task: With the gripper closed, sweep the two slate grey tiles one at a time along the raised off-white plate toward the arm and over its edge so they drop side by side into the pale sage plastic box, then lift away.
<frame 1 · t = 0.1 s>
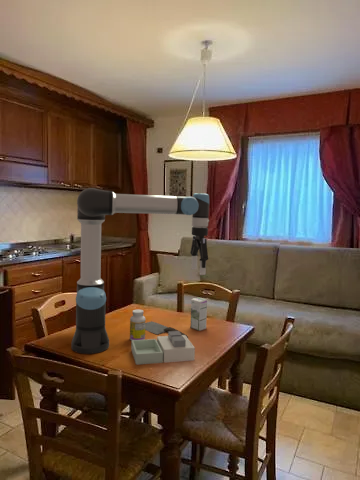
hand: (198, 272, 175), 28 cm above the table, tool pointing down, fingers open, 13 cm apart
cleaver: (162, 333, 174), on the table
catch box: (146, 356, 145), on the table
syrup box: (198, 328, 180), on the table
slate tile 2: (174, 339, 151), point 5 cm above the table, touching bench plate
slate tile 1: (178, 344, 145), point 5 cm above the table, touching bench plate
supplement bottle: (137, 339, 163), on the table
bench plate: (174, 354, 148), on the table
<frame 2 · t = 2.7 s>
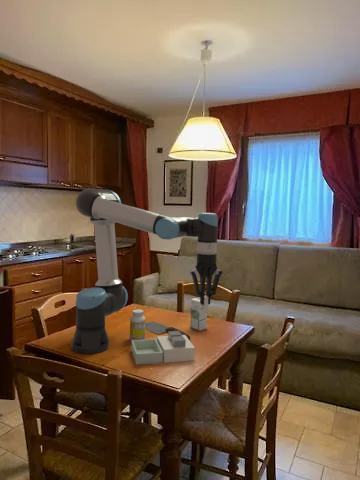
hand: (204, 312, 146), 18 cm above the table, tool pointing down, fingers closed
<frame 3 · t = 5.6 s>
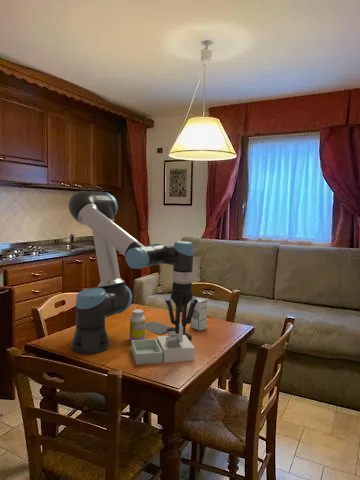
hand: (179, 340, 145), 6 cm above the table, tool pointing down, fingers closed
slate tile 1: (172, 345, 145), point 5 cm above the table, touching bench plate, gripper
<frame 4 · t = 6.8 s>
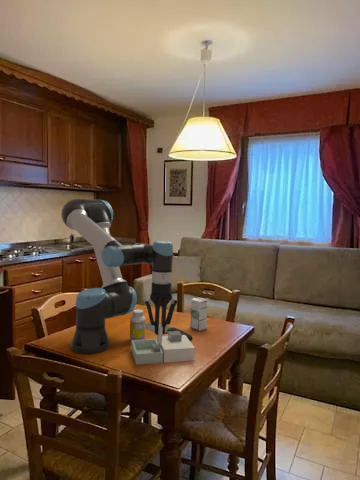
hand: (159, 342, 143), 6 cm above the table, tool pointing down, fingers closed
slate tile 1: (158, 351, 143), point 3 cm above the table, tilted 90°, touching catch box
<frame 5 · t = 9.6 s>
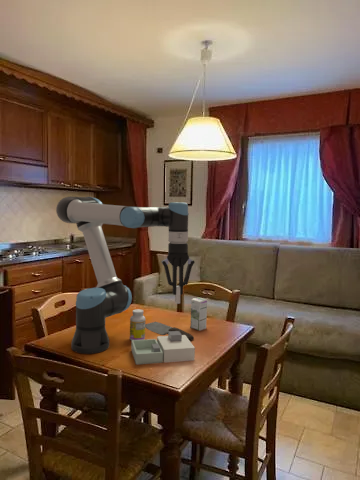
hand: (177, 302, 145), 21 cm above the table, tool pointing down, fingers closed
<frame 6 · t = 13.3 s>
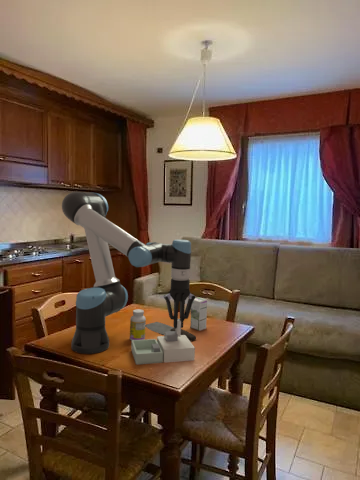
hand: (177, 335, 151), 6 cm above the table, tool pointing down, fingers closed
slate tile 2: (170, 339, 150), point 5 cm above the table, touching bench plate
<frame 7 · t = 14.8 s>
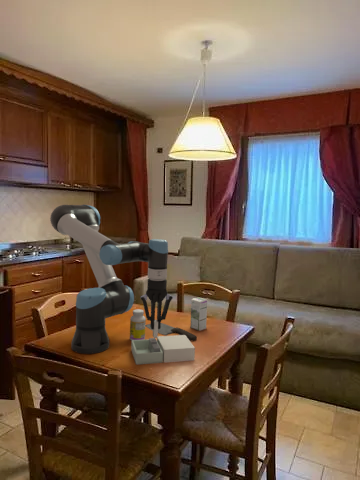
hand: (155, 336, 149), 6 cm above the table, tool pointing down, fingers closed
slate tile 2: (155, 345, 149), point 3 cm above the table, tilted 90°, touching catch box
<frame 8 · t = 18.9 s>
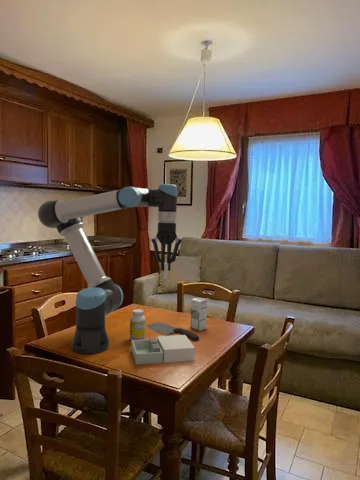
hand: (165, 278, 155), 28 cm above the table, tool pointing down, fingers closed
at the end: slate tile 1 inside the target area on the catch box (5.3 cm from its centre), point 2.8 cm above the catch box's base; slate tile 2 inside the target area on the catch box (5.2 cm from its centre), point 2.8 cm above the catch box's base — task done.
